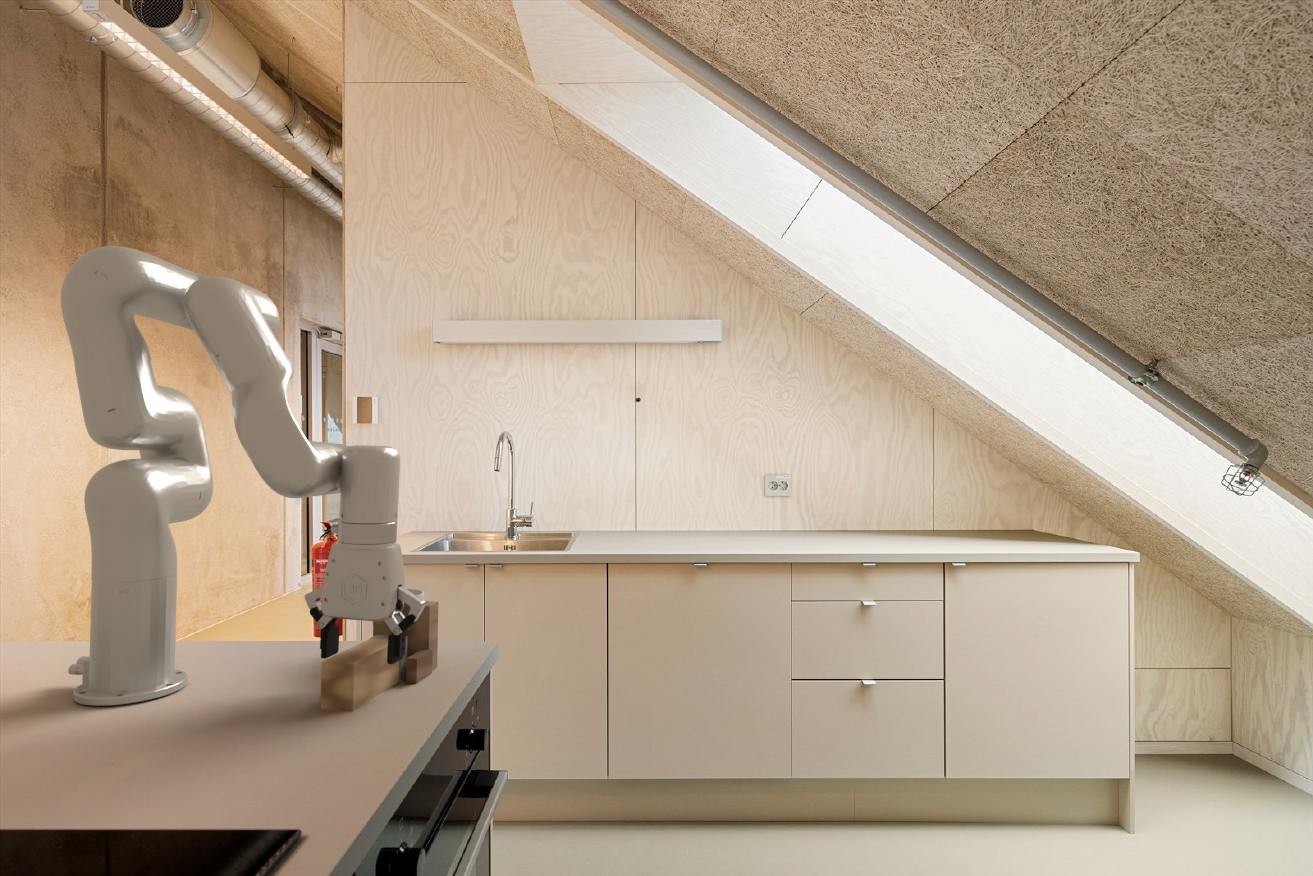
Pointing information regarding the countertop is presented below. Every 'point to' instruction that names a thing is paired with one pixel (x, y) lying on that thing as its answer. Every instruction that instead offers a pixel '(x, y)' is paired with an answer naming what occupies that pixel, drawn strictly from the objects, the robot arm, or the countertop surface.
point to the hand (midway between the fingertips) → (362, 658)
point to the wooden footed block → (418, 641)
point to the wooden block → (359, 674)
